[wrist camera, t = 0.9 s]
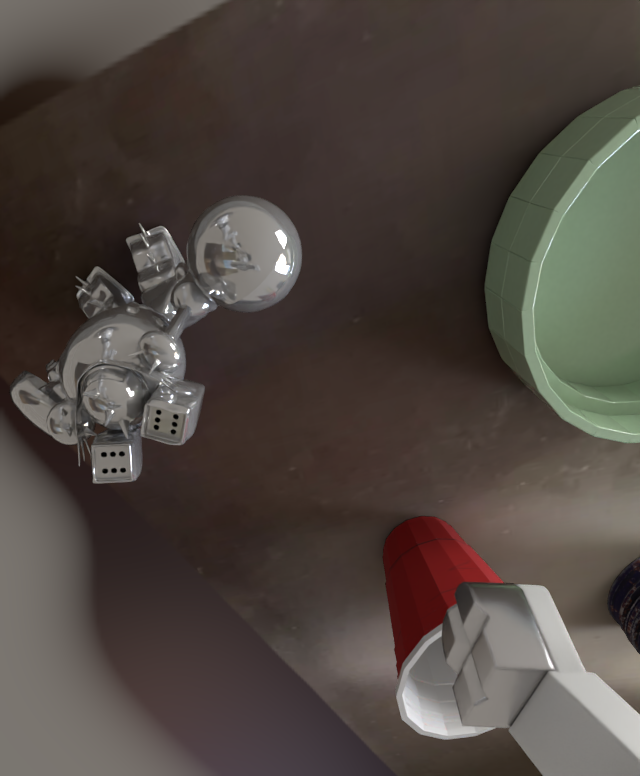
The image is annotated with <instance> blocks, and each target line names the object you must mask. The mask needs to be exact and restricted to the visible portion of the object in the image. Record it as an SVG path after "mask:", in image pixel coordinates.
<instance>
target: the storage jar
mask: <svg viewBox="0 0 640 776" xmlns="http://www.w3.org/2000/svg"><path fill="white" fill-rule="evenodd" d="M607 604H608V610H609V612H610V614H611V616H612V617H613V618H614V620H615V621H616V622H617V623H618V624H619V625H620V626H621V628H622V630H623V631H624V633H625V634H626V636H627V638H628V640H629V641H630V642H631V644H632V645H633V646H634V648H635V649H636V650H637V652H638V653H639V654H640V557H639V558H638V559H636V560H635V561H634V562H632V563H631V564H630V565H629V566H627V567H626V568H625V569H624V570H623V571H622V572H621V574H620V575H619V576H618V577H617V579H616V580H615V582H614V583H613V585H612V587H611V589H610V592H609V595H608V603H607Z"/></svg>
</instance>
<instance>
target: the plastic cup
mask: <svg viewBox="0 0 640 776" xmlns="http://www.w3.org/2000/svg"><path fill="white" fill-rule="evenodd" d="M383 563H384V569H385V576H386V583H385V585H386V591H387V597H388V604H389V610H390V617H391V623H392V629H393V636H394V642H395V649H394V650H395V655H396V660H397V664H396V667H397V672H398V676H397V678H398V682H397V685H396V689H395V690H396V698H397V702H398V706H399V710H400V714H401V717H402V720H404V721H405V722H406V723H407V724H408V725H409V726H411V727H412V728H413V729H414V730H415V731H416V732H418V733H419V734H422V735H426V736H431V737H435V738H440V739H444V740H447V739H455V738H463V737H471V736H477V735H479V734H482V733H484V732H487V731H489V730H492V729H494V728H496V727H473V726H462V723H461V719H460V715H459V711H458V707H457V704H456V700H455V696H454V692H453V688H452V687H453V685H454V682H455V680H456V678H457V674H456V673H455V672H454V671H453V669H452V668H451V667H450V666H449V665H448V664H447V663H446V660H445V656H444V651H443V645H442V624H443V619H444V617H445V614H446V612H447V609H449V608H450V607H452V606H453V605H455V604H457V602H456V598H455V595H454V594H455V591H456V589H457V587H458V585H459V584H461V583H462V582H487V583H504V582H503V581H502V580H501V579H500V578H499V577H498V576H497V575H496V574H495V573H494V571H493V570H492V569H491V568H490V567H489V566H488V565H487V564H486V563H485V562H484V561H483V559H482V558H481V557H480V556H479V555H478V554H477V553H476V552H475V551H474V550H473V549H472V548H471V546H470V545H467V544H466V543H465V542H464V540H463V539H462V538H461V537H460V536H459V535H458V533H457V532H456V531H455V530H454V529H453V528H452V526H450V525H448V524H447V523H446V522H445V521H443V520H440V519H438V518H436V517H426V516H420V517H417V518H413V519H410V520H406V521H405V522H403V523H402V524H400V525H399V526H397V527H396V528H394V530H393V531H392V532H391V533H390V535H389V536H388V537H387V539H386V541H385V545H384V549H383Z"/></svg>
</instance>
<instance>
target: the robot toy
mask: <svg viewBox="0 0 640 776" xmlns="http://www.w3.org/2000/svg"><path fill="white" fill-rule="evenodd" d="M139 226H140V229H141V231H142V233H140V234H136V235H133V236H130V237H128V238H126V243H127V245H128V247H129V248H130V250H131V255H132V258H133V262H134V264H135V267H136V270H137V273H138V279H137V280H138V285H139V288H140V291H141V292H142V294H141V300H142V302H143V304H138V303H136V302H133V301H134V297H133V295H132V294H131V293H130V292H129V291H128V290H127V289H126V288H124V287H123V286H122V285H121V284H120V283H119V282H118V281H116V280H115V279H114V278H113V277H112V276H110V275H109V274H108V273H107V272H106V271H104V270H103V269H102V268H100V267H99V266H95V267H94V268H93V270H92V271H91V273H90V275H89V276H88V278H87V279H86V281H84V280H83V279H81V278H80V277H78V276H75V277H76V278H77V279H78V280H79V281H80V282H81V283H82V284H83V285H82V287H81V286H76V287H77V288H78V289H79V291H78V292H77V294H76V297H77V299H78V303H79V306H80V308H81V309H82V311H83V312H84V314H85V315H86V316H87V317H88V320H87V321H85V322H84V323H83V324H82V325H81V326H80V327H79V328H78V329H77V330H76V331H75V332H74V334H73V335H72V336H71V338H70V339H69V341H68V343H67V345H66V347H65V350H64V352H63V353H62V355H61V356H60V358H59V360H58V361H57V362H56V361H54V360H51V361H50V362H49V363H48V364H47V365H46V369H47V370H46V371H47V376H48V379H49V381H50V382H49V383H46V382H44V381H43V380H41V379H40V378H38V377H36V376H35V375H33V374H32V373H30V372H28V371H23V372H22V373H21V374H20V375H18V376H17V377H16V378H15V379H14V381H13V382H12V384H11V386H10V396H11V399H12V402H13V403H14V404H15V406H17V408H18V409H19V411H20V412H21V413H22V414H23V415H24V416H25V417H26V418H27V419H28V420H29V421H30V422H31V423H33V424H34V425H35V426H36V427H38V428H39V429H40V430H42V431H43V432H44V433H46V434H47V435H49V436H51V437H53V438H54V439H56V440H57V441H59V442H60V443H63V444H66V445H78V457H79V466H80V444H81V446H82V452H83V458H84V461H85V455H84V444H83V442H85V443H86V445H87V448H88V450H89V453H90V455H91V469H92V481H93V483H117V482H133V481H135V480H136V479H137V478H138V477H139V475H140V473H141V469H142V462H143V458H142V440H141V436H142V437H145V438H149V439H153V440H156V441H159V442H162V443H165V444H169V445H183V444H184V443H185V441H187V440H188V439H189V438H190V437H191V436H192V435H193V433H194V431H195V429H196V425H197V422H198V419H199V415H200V411H201V407H202V401H203V396H204V391H205V387H204V385H202V384H200V383H197V382H193V381H190V380H184V375H185V369H186V355H185V349H184V345H183V342H182V340H181V337H180V335H181V333H182V332H183V330H184V329H185V328H187V327H189V326H191V325H193V324H195V323H196V322H198V321H199V320H200V319H202V318H204V317H205V316H206V315H207V314H208V313H209V311H214V310H215V309H216V308H217V306H218V305H219V306H221V307H223V308H225V309H228V310H231V311H237V312H246V313H250V312H257V311H260V310H263V309H265V308H268V307H271V306H273V305H275V304H277V303H278V302H279V301H281V300H282V299H283V298H284V297H285V296H286V295H287V294H288V293H289V292H290V290H291V288H292V287H293V285H294V283H295V282H296V280H297V278H298V276H299V273H300V270H301V265H302V247H301V242H300V237H299V235H298V232H297V230H296V228H295V226H294V224H293V223H292V221H291V220H290V218H289V217H288V216H287V215H286V214H285V213H284V212H283V211H282V210H281V209H280V208H279V207H277V206H276V205H274V204H273V203H271V202H269V201H267V200H265V199H262V198H259V197H256V196H250V195H239V196H230V197H226V198H223V199H221V200H219V201H217V202H215V203H214V204H212V205H211V206H210V207H208V208H207V209H206V210H205V211H204V212H203V213H202V214H201V215H200V216H199V217H198V218H197V220H196V221H195V223H194V225H193V227H192V229H191V232H190V236H189V239H188V244H187V260H186V263H185V261H184V259H183V257H182V255H181V253H180V251H179V249H178V248H177V246H176V244H175V242H174V241H173V239H172V237H171V236H170V234H169V232H168V231H167V229H166V228H165V227H163V226H158V227H155V228H153V229H151V230H148V231H145V230H144V228H143V227H142V225H141V224H140V223H139ZM96 423H98V424H99V425H101V426H103V427H106V428H108V429H107V430H105V431H103V432H101V433H99V434H96V433H94V430H95V425H96ZM141 425H142V427H141V431H140V429H139V428H137V427H139V426H141ZM92 435H94V436H95V438H94V441H93V444H92V445H91V451H90V449H89V446H88V442H87V440H88V439H89V438H90V437H91V436H92Z"/></svg>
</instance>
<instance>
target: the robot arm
mask: <svg viewBox="0 0 640 776" xmlns="http://www.w3.org/2000/svg"><path fill="white" fill-rule="evenodd" d="M454 595H455V598H456V602H457V604H455V605H453V606H452V607H450V608H449V609H447V612H446V614H445V617H444V619H443V624H442V645H443V651H444V656H445V660H446V663H447V664H448V665H449V666H450V667H451V668H452V669H453V671H454V672H455V673H456V674H457V678H456V680H455V682H454V685H453V687H452V688H453V692H454V696H455V700H456V704H457V707H458V711H459V715H460V719H461V723H462V726H473V727H496V728H510V729H509V730H508V731H509V732H510V733H511V735H512V736H513V737H514V739H515V740H516V741H517V743H518V744H519V745H520V747H521V748H522V749H523V750H524V752H525V753H526V754H527V756H528V757H529V758H530V760H531V761H532V762H533V764H534V765H535V766H536V767H537V769H538V770H539V771H540V773H541V774H542V775H543V776H640V714H639V713H637V712H636V711H635V710H634V709H633V708H632V707H631V706H630V705H629V704H628V703H627V702H626V701H624V700H623V699H622V698H621V697H620V696H619V695H618V694H617V693H616V692H615V691H614V690H613V689H611V688H610V687H609V686H608V685H607V684H606V683H605V682H604V681H603V680H602V679H601V678H599V677H598V676H597V675H596V674H595V673H593V672H586V671H585V668H584V666H583V664H582V662H581V660H580V658H579V655H578V653H577V651H576V649H575V647H574V645H573V642H572V640H571V638H570V636H569V634H568V632H567V629H566V627H565V625H564V623H563V621H562V619H561V616H560V614H559V612H558V610H557V608H556V606H555V603H554V601H553V599H552V597H551V595H550V593H549V591H548V590H547V589H546V588H545V587H544V586H540V585H519V584H516V585H515V584H513V583H487V582H462V583H461V584H459V585H458V587H457V589H456V591H455V594H454Z"/></svg>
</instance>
